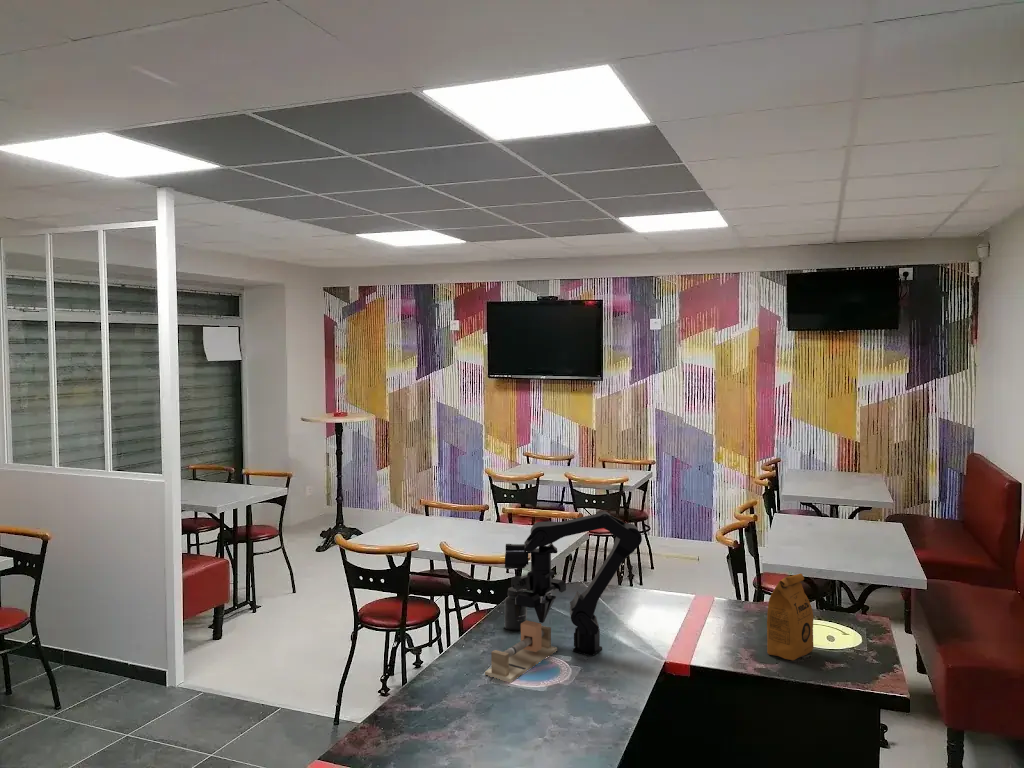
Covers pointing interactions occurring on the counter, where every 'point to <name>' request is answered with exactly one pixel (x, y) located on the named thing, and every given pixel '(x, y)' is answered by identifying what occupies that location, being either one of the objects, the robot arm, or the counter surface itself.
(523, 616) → the supplement bottle
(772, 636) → the coffee package
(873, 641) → the counter surface
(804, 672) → the counter surface
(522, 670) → the pipe stand
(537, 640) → the brown block with hole
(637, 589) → the counter surface
